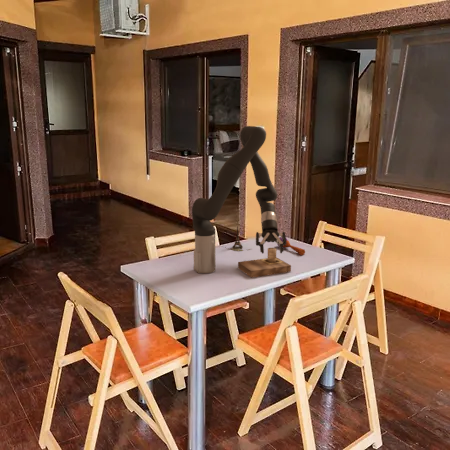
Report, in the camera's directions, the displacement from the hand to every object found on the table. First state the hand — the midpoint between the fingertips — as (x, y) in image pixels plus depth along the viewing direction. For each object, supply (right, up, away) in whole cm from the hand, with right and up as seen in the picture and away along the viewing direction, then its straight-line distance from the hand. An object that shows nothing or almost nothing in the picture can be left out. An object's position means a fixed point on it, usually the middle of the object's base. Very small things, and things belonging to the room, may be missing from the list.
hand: (272, 252), depth 221 cm
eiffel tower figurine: (-16, 0, +35) cm, 38 cm away
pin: (0, -7, +2) cm, 7 cm away
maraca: (+13, -1, +30) cm, 32 cm away
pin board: (-4, -8, -2) cm, 9 cm away
